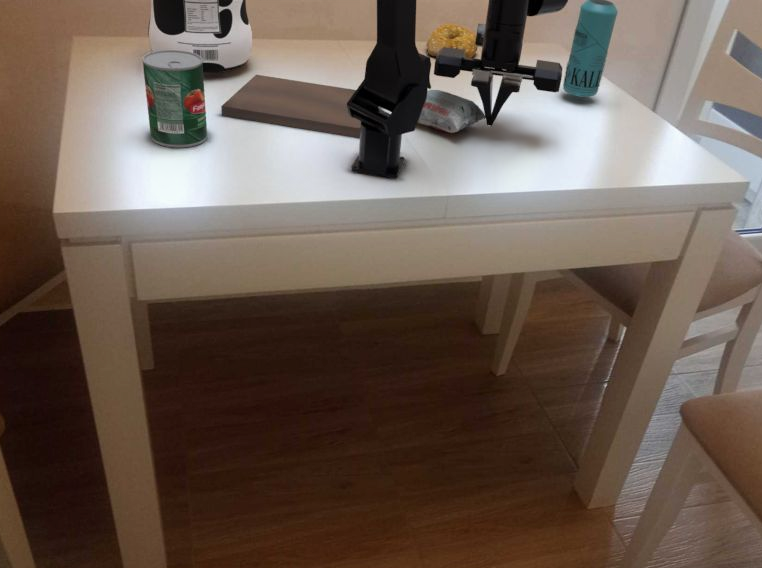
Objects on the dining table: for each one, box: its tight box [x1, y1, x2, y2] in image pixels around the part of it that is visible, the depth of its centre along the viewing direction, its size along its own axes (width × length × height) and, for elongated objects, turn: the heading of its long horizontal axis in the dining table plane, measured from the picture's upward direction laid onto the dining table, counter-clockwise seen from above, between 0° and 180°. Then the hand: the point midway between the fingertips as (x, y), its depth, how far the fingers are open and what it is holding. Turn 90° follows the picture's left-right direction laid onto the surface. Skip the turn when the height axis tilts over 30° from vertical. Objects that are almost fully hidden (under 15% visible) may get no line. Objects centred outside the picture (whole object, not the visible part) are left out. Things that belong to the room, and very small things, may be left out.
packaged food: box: [417, 89, 486, 134], centre depth 121 cm, size 9×12×5 cm
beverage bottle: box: [562, 0, 619, 98], centre depth 133 cm, size 6×7×20 cm
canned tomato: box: [141, 50, 208, 149], centre depth 107 cm, size 8×8×11 cm
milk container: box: [147, 0, 253, 74], centre depth 130 cm, size 17×17×18 cm
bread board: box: [220, 74, 381, 139], centre depth 123 cm, size 16×22×2 cm
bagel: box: [426, 23, 479, 58], centre depth 153 cm, size 10×11×5 cm
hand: (489, 124), depth 121 cm, fingers closed
